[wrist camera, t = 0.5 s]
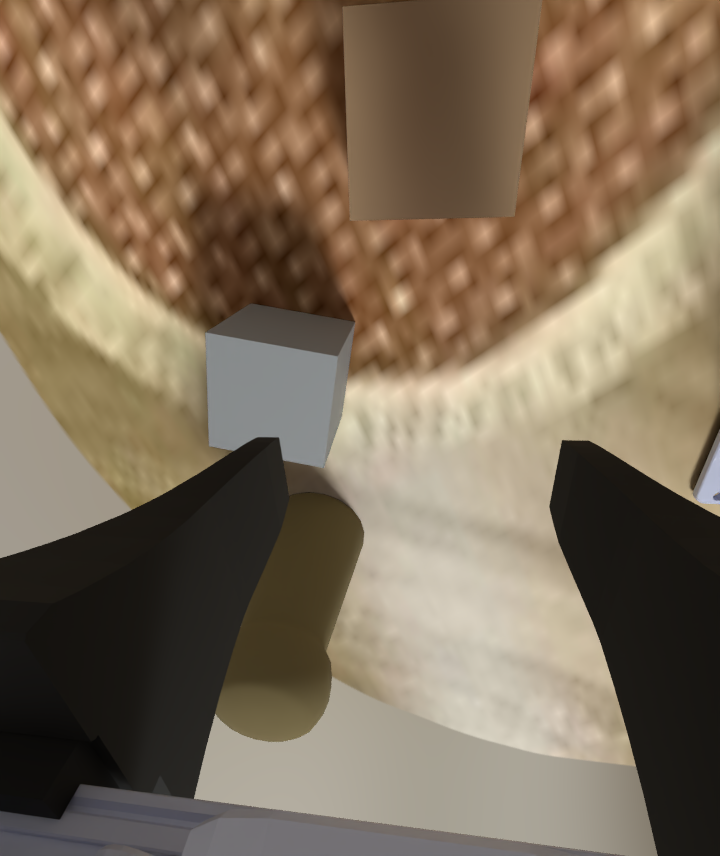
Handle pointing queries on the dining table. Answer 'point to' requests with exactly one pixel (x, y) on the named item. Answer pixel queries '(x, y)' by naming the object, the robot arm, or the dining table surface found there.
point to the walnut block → (437, 106)
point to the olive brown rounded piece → (292, 623)
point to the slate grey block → (278, 380)
